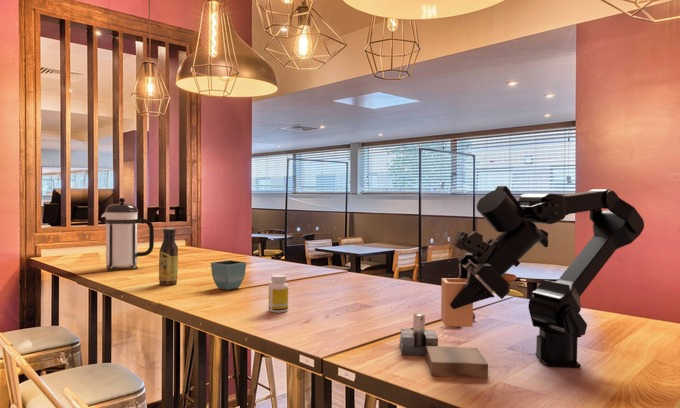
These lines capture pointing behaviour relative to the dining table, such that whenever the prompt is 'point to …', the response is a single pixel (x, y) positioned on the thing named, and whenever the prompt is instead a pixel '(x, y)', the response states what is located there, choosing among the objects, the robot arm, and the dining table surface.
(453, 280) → the sleeve
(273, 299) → the supplement bottle
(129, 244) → the coffee press
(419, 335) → the vise
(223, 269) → the flower pot
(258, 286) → the dining table surface
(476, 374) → the walnut block
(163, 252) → the sauce bottle
